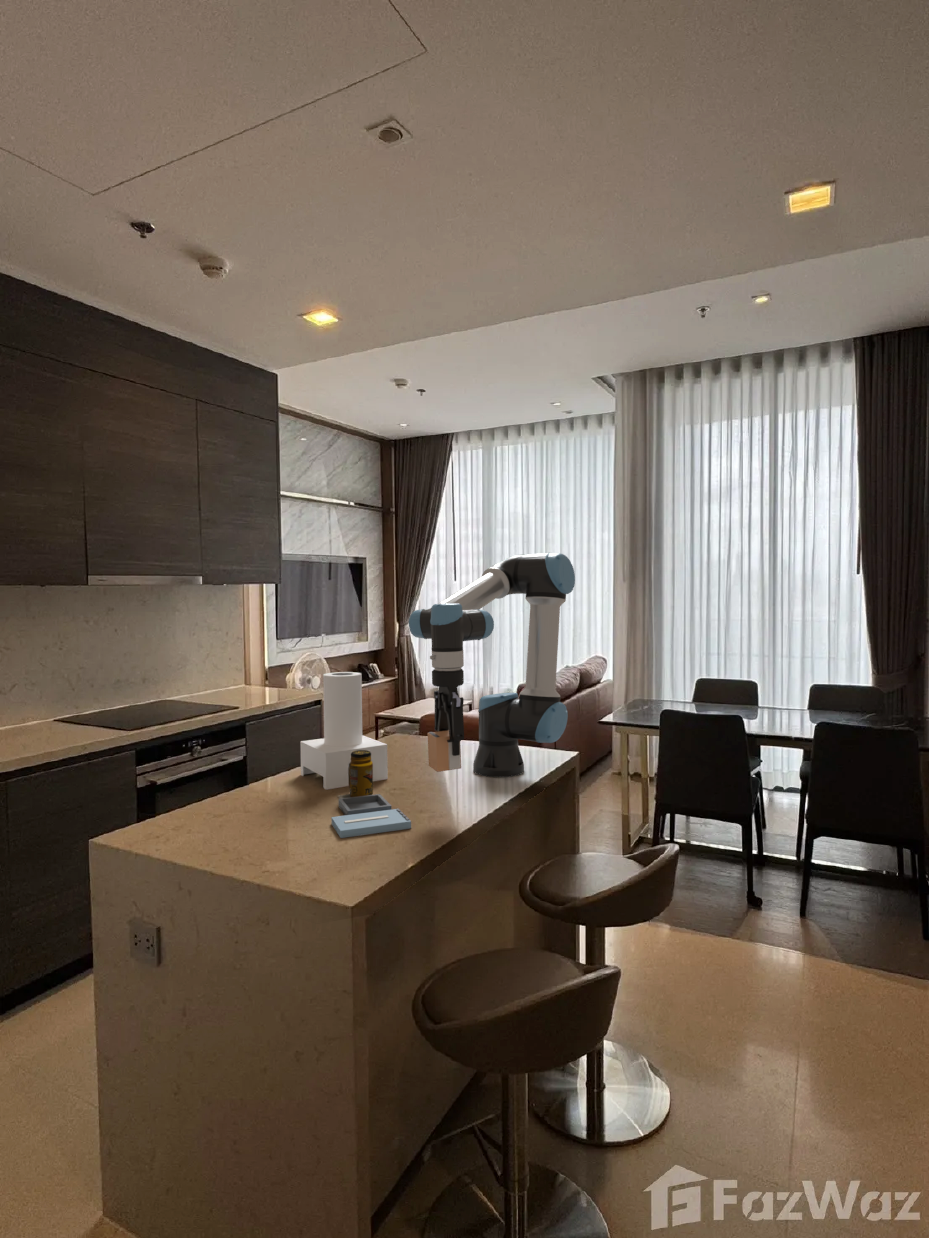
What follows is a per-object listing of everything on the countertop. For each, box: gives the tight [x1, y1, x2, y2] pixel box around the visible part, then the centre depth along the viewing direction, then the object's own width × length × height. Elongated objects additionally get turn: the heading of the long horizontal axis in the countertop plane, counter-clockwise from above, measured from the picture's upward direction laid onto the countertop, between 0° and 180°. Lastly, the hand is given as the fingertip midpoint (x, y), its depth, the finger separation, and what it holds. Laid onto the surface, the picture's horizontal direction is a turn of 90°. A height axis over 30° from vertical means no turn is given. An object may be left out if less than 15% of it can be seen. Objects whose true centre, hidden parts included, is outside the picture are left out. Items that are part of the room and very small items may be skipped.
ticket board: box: [330, 808, 412, 839], centre depth 157 cm, size 16×10×2 cm, turn 112°
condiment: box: [337, 750, 374, 799], centre depth 179 cm, size 7×8×12 cm
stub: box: [427, 729, 462, 773], centre depth 163 cm, size 6×6×8 cm
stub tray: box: [338, 793, 392, 816], centre depth 168 cm, size 11×11×2 cm
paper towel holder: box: [300, 671, 389, 791], centre depth 199 cm, size 19×19×30 cm
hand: (449, 764), depth 164 cm, fingers closed on stub, 6 cm apart
